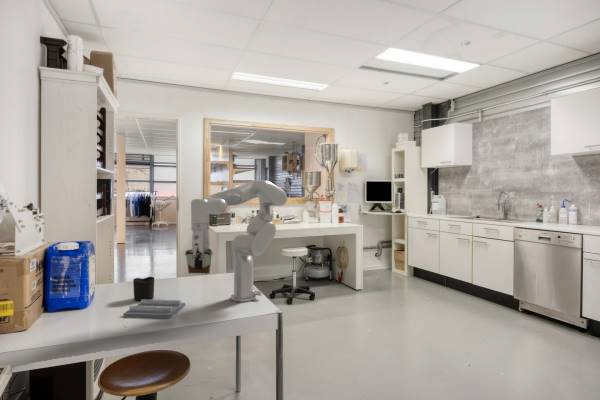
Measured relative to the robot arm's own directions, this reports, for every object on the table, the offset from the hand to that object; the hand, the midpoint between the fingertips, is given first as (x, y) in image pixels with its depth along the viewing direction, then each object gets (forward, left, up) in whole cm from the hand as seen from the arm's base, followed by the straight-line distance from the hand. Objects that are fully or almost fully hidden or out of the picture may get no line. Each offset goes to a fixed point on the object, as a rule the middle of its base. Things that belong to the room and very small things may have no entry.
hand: (200, 267), depth 152 cm
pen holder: (+33, -14, -20) cm, 41 cm away
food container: (0, -1, -2) cm, 2 cm away
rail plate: (+19, +2, -19) cm, 27 cm away
